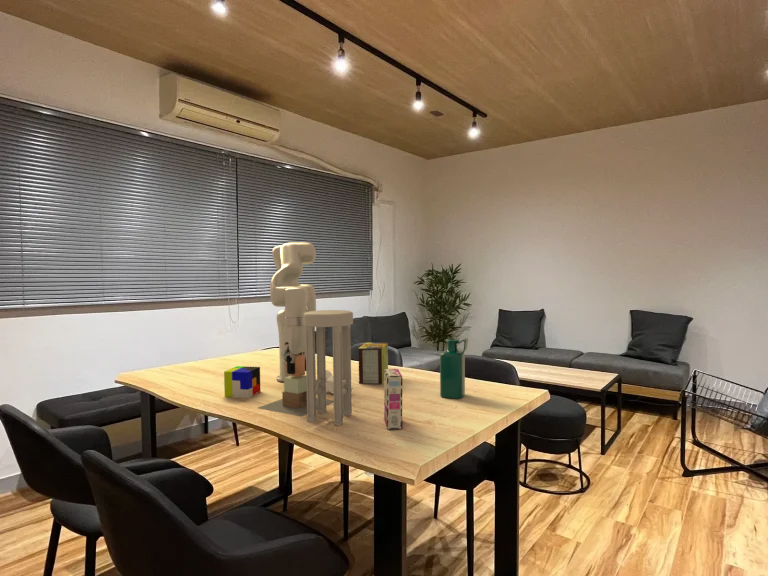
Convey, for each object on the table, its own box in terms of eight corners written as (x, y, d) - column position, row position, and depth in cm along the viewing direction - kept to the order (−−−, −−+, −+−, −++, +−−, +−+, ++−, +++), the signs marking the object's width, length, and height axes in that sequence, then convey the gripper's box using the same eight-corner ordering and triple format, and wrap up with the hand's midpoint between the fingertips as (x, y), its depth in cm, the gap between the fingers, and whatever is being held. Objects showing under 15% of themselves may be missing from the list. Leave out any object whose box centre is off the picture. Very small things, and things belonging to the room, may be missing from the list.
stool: (359, 412, 157) (357, 310, 156) (345, 427, 142) (343, 314, 140) (316, 409, 160) (314, 309, 159) (298, 424, 145) (296, 313, 144)
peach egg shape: (296, 372, 169) (296, 353, 169) (308, 373, 166) (307, 354, 166) (285, 375, 164) (285, 355, 164) (297, 376, 162) (297, 357, 161)
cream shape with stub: (351, 400, 183) (325, 381, 190) (357, 381, 180) (330, 363, 188) (336, 405, 176) (310, 386, 184) (342, 386, 174) (315, 367, 181)
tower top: (296, 387, 170) (296, 374, 170) (310, 389, 167) (310, 376, 167) (284, 391, 164) (284, 377, 164) (298, 393, 161) (298, 379, 161)
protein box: (388, 376, 210) (388, 342, 210) (382, 384, 195) (381, 348, 194) (366, 375, 212) (365, 342, 211) (358, 383, 197) (357, 347, 196)
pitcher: (439, 397, 174) (438, 339, 173) (444, 392, 182) (443, 336, 181) (465, 399, 170) (464, 340, 169) (469, 394, 178) (468, 337, 177)
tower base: (296, 400, 171) (296, 387, 171) (312, 403, 167) (312, 389, 167) (282, 405, 164) (282, 391, 164) (298, 408, 161) (298, 394, 160)
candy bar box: (403, 429, 139) (402, 375, 139) (387, 430, 139) (386, 376, 138) (399, 417, 151) (398, 368, 150) (383, 418, 150) (383, 368, 150)
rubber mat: (295, 395, 179) (295, 394, 179) (336, 402, 169) (336, 401, 169) (257, 409, 162) (257, 407, 162) (300, 417, 152) (300, 416, 152)
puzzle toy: (248, 398, 177) (247, 372, 176) (224, 397, 179) (224, 371, 178) (260, 391, 186) (259, 366, 186) (237, 390, 188) (237, 366, 188)
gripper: (303, 319, 174) (304, 366, 175) (271, 324, 159) (272, 375, 160) (319, 320, 170) (320, 368, 171) (287, 325, 155) (288, 378, 156)
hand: (297, 371), depth 165 cm, fingers closed on peach egg shape, 5 cm apart
